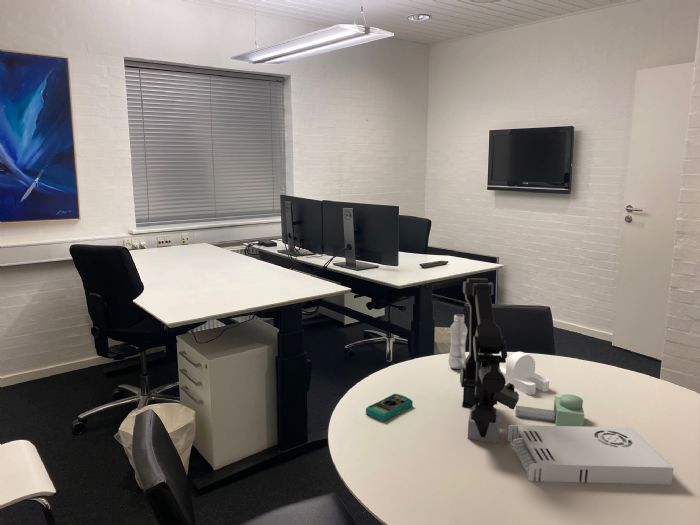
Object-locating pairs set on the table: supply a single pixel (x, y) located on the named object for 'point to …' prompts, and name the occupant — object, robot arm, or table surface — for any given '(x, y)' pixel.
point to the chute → (491, 433)
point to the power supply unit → (588, 455)
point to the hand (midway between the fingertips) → (483, 431)
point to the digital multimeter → (389, 407)
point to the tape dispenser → (524, 374)
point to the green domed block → (557, 411)
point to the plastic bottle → (457, 342)
